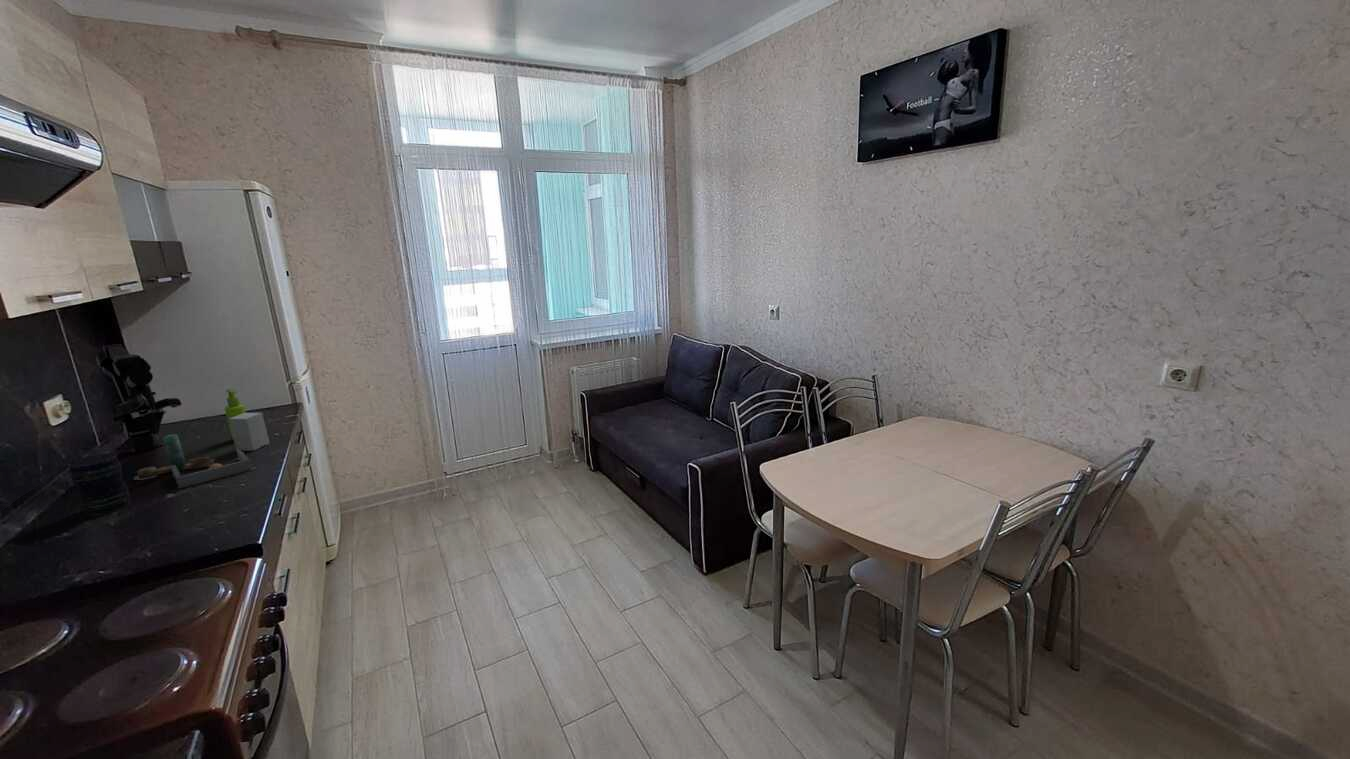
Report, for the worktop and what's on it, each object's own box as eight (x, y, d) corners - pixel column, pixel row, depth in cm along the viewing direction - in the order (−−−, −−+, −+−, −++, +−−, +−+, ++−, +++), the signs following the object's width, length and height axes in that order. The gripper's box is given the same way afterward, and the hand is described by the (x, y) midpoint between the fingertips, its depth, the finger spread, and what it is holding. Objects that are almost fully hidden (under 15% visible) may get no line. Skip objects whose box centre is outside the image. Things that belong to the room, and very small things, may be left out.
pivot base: (137, 482, 173) (137, 481, 172) (130, 477, 176) (130, 477, 176) (166, 474, 178) (165, 473, 178) (158, 470, 182) (158, 469, 182)
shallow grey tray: (173, 475, 177) (170, 466, 176) (242, 458, 190) (240, 449, 189) (179, 488, 167) (176, 478, 166) (251, 469, 181) (249, 459, 180)
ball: (212, 462, 177) (214, 460, 175) (225, 467, 180) (227, 466, 177) (204, 473, 175) (205, 472, 173) (218, 478, 178) (219, 477, 175)
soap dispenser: (236, 442, 205) (223, 392, 200) (230, 439, 209) (218, 390, 204) (254, 438, 210) (243, 389, 205) (249, 434, 214) (237, 386, 209)
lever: (137, 479, 174) (126, 444, 171) (141, 474, 178) (131, 440, 175) (212, 466, 183) (203, 432, 180) (215, 461, 187) (206, 429, 184)
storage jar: (100, 517, 151) (84, 468, 147) (74, 514, 153) (57, 466, 149) (140, 500, 160) (126, 454, 156) (115, 498, 162) (100, 452, 158)
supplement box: (270, 443, 204) (263, 412, 200) (253, 451, 197) (246, 418, 193) (252, 443, 204) (245, 412, 201) (235, 451, 197) (227, 418, 194)
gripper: (88, 401, 177) (106, 446, 177) (146, 383, 178) (163, 427, 179) (120, 400, 188) (136, 441, 188) (174, 382, 189) (190, 424, 190)
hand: (156, 433), depth 186 cm, fingers closed
